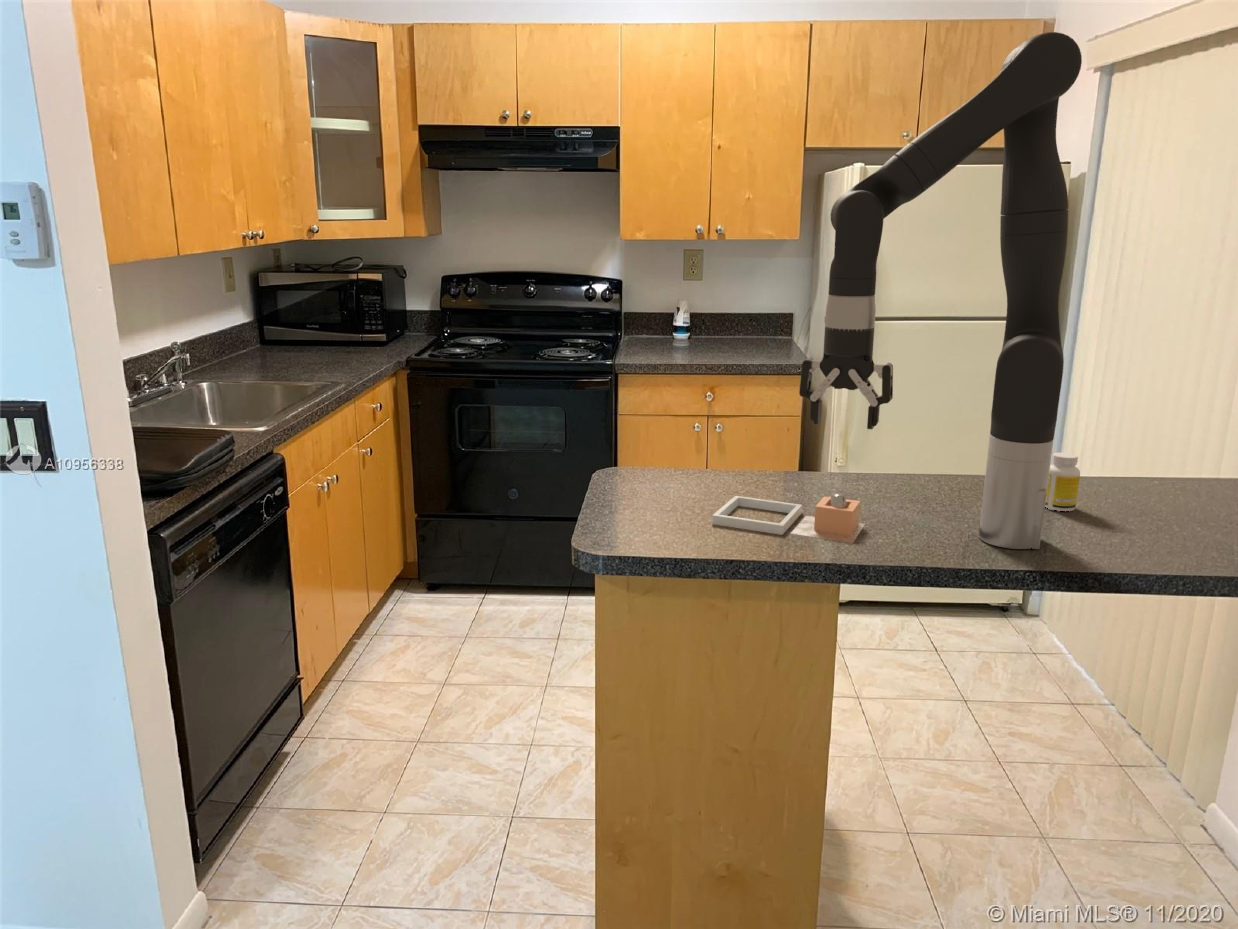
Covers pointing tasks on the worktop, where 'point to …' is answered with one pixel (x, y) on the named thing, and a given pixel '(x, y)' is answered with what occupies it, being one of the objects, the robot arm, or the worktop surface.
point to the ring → (837, 516)
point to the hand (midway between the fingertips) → (843, 425)
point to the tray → (757, 525)
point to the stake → (808, 530)
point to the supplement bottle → (1063, 482)
